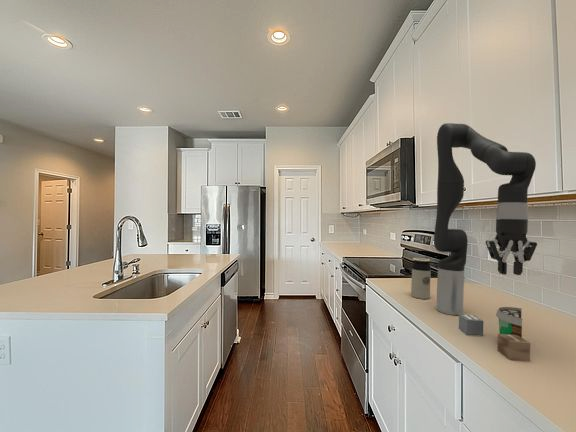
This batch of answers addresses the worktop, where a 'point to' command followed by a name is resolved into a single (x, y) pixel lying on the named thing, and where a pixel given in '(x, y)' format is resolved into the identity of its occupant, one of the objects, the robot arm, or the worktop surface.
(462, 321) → the slate block
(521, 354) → the walnut block
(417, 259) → the travel mug
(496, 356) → the worktop surface
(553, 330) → the worktop surface
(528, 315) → the worktop surface
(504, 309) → the food container
